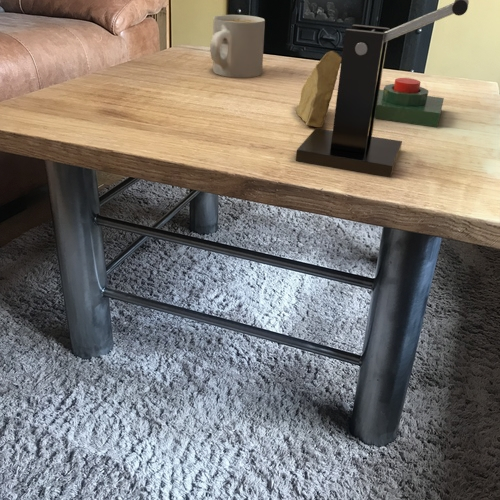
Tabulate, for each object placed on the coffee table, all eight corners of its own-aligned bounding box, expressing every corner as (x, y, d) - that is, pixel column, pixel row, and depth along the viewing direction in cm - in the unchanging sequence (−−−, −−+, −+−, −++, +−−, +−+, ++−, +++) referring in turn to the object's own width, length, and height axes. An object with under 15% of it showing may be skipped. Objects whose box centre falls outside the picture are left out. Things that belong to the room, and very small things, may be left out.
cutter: (400, 151, 76) (423, 28, 68) (390, 177, 68) (415, 40, 60) (314, 137, 80) (327, 18, 72) (295, 160, 71) (307, 29, 63)
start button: (419, 90, 92) (421, 79, 91) (417, 96, 89) (419, 85, 88) (394, 87, 93) (396, 76, 92) (391, 92, 90) (393, 81, 89)
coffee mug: (237, 64, 119) (239, 13, 114) (272, 73, 113) (275, 20, 108) (189, 72, 110) (189, 18, 105) (224, 82, 105) (225, 25, 100)
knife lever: (471, 10, 64) (465, -11, 63) (470, 15, 60) (464, -7, 59) (361, 55, 70) (355, 36, 69) (354, 62, 66) (347, 43, 65)
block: (441, 110, 95) (446, 87, 93) (437, 127, 87) (442, 101, 85) (370, 101, 98) (374, 78, 96) (360, 116, 90) (364, 91, 88)
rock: (338, 119, 80) (364, 95, 87) (307, 66, 78) (336, 46, 85) (284, 148, 87) (312, 124, 94) (254, 100, 86) (285, 79, 92)
